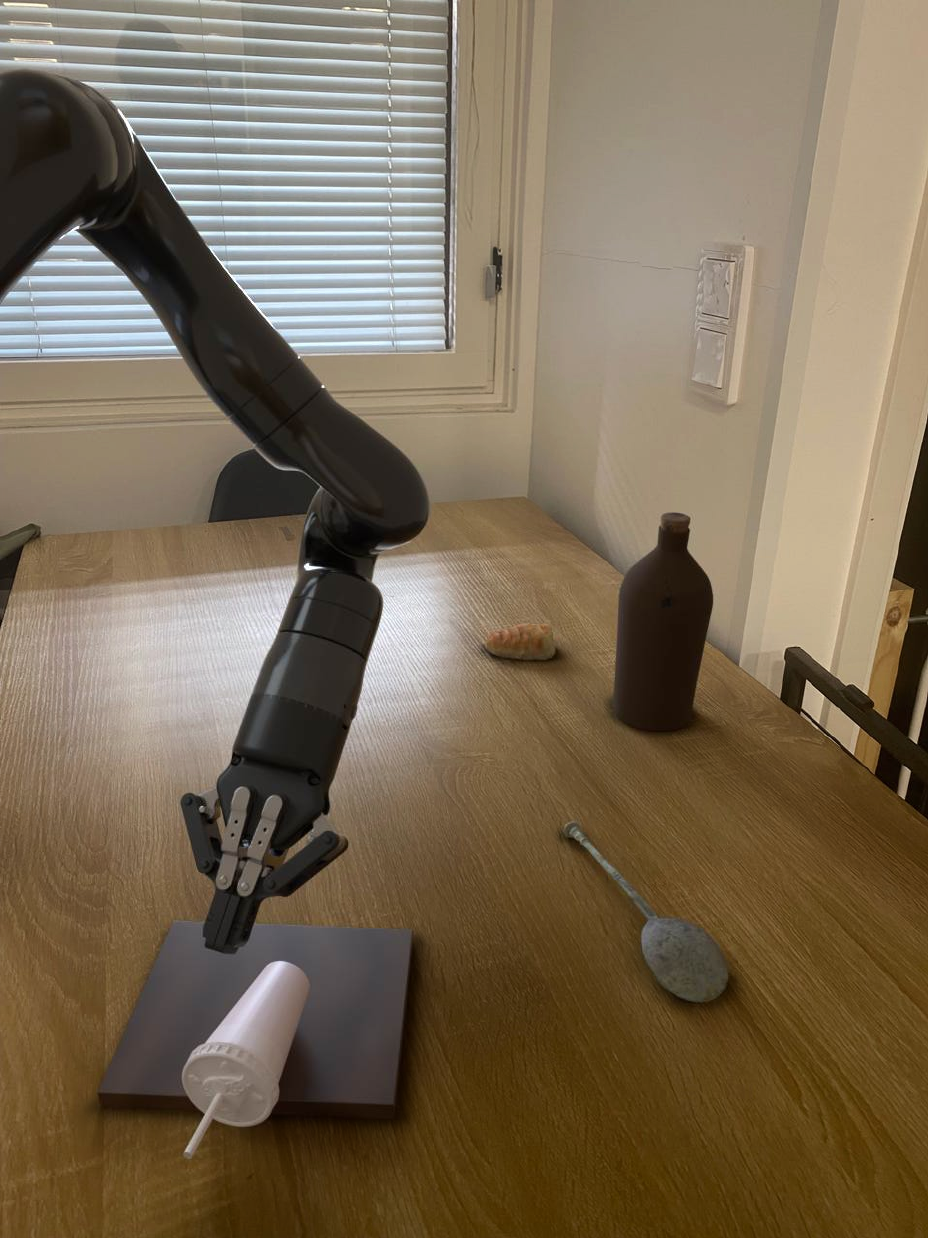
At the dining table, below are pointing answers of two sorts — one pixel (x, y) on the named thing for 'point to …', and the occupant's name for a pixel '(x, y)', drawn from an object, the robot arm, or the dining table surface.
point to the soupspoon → (671, 943)
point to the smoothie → (247, 1052)
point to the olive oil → (661, 632)
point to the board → (325, 1036)
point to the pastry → (523, 642)
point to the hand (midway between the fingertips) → (220, 951)
